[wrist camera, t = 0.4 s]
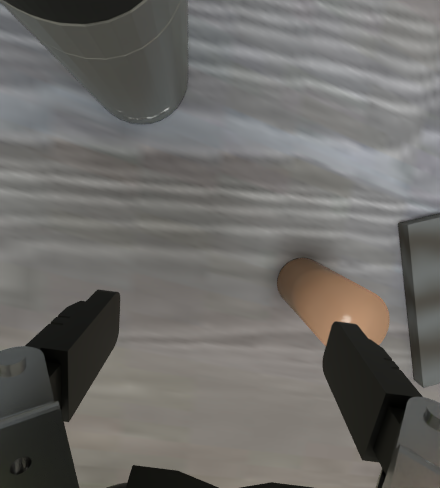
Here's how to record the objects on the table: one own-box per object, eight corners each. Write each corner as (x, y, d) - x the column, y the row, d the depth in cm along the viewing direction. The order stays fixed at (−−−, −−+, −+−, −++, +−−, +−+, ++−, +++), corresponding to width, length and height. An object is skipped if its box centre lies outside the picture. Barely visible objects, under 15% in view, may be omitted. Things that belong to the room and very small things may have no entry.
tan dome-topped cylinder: (273, 264, 33) (314, 299, 22) (320, 252, 33) (385, 281, 22) (281, 310, 34) (325, 365, 23) (328, 298, 34) (392, 348, 23)
